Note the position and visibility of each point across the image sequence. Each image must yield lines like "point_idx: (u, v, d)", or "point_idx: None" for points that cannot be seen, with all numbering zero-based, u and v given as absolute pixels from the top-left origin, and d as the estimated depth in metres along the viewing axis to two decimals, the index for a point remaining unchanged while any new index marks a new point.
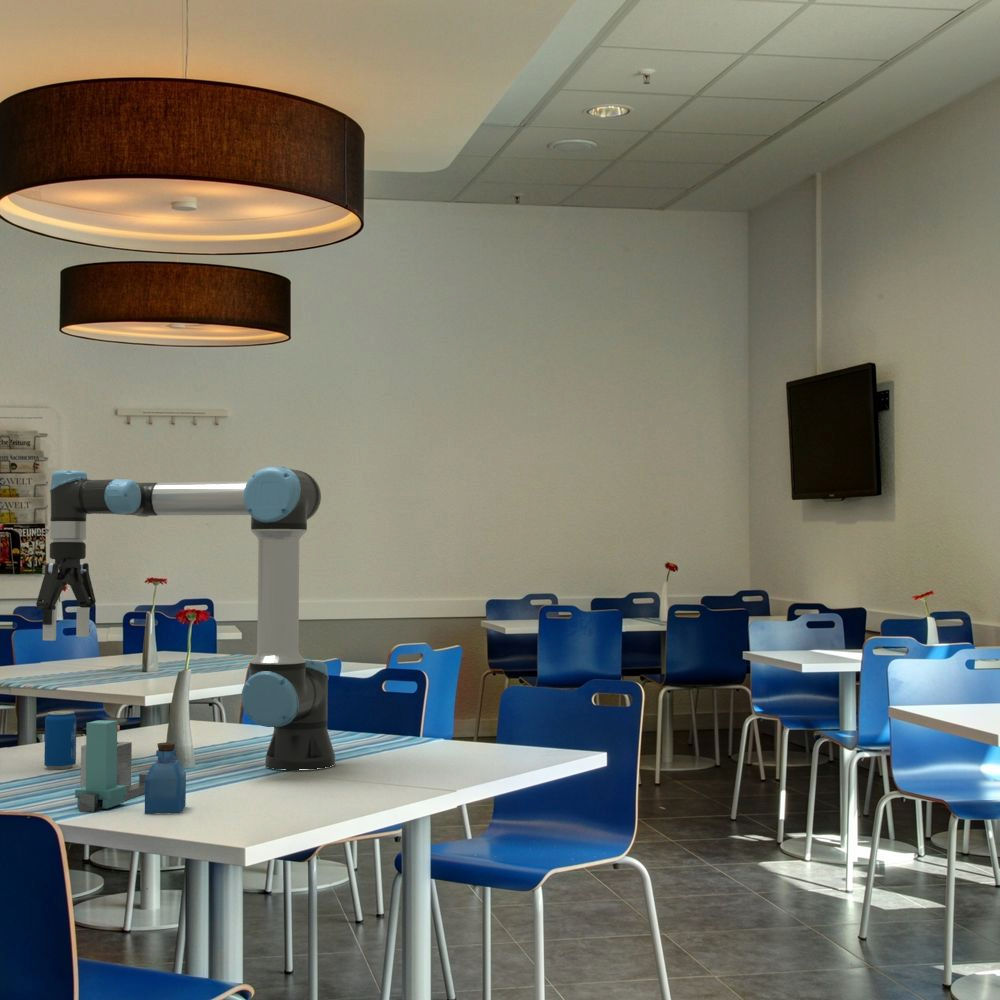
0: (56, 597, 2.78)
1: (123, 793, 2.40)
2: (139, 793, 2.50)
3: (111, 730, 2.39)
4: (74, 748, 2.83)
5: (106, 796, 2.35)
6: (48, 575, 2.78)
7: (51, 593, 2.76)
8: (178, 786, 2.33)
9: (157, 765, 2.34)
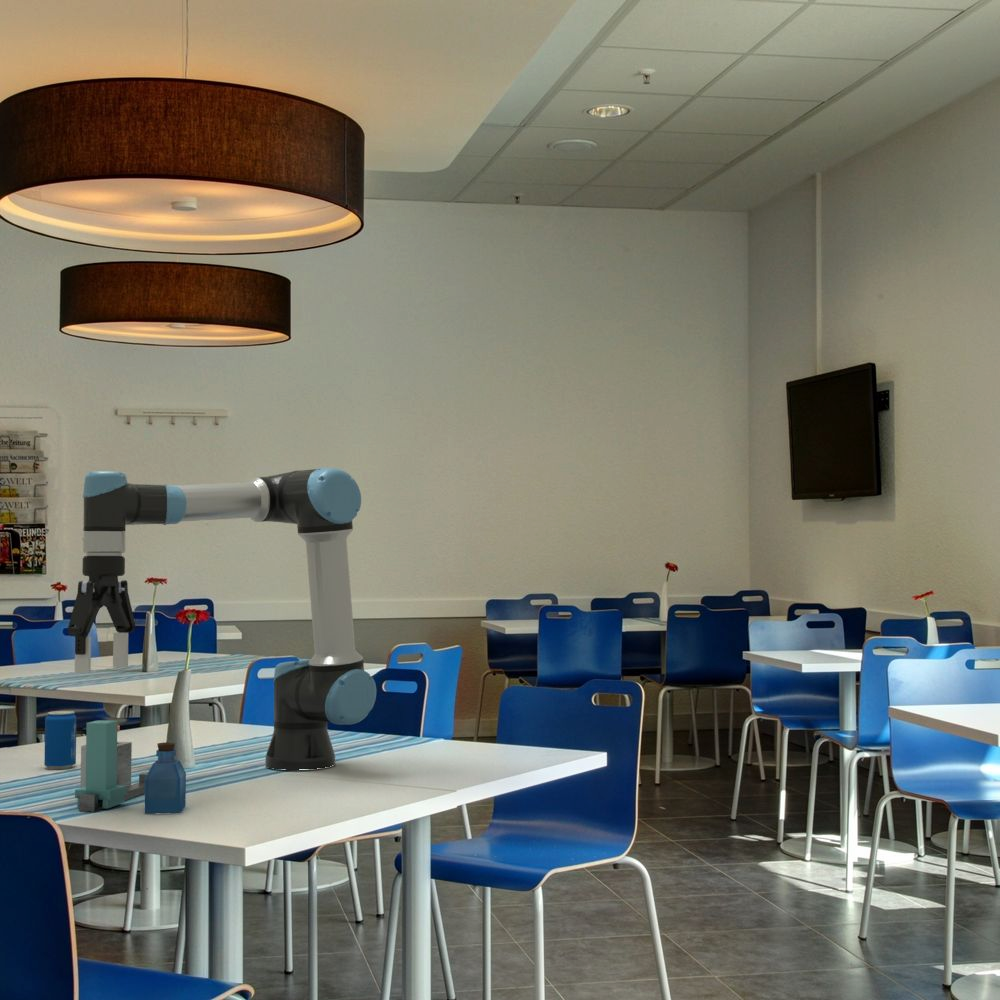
0: (91, 621, 2.34)
1: (123, 793, 2.40)
2: (139, 793, 2.50)
3: (111, 730, 2.39)
4: (74, 748, 2.83)
5: (106, 796, 2.35)
6: (82, 595, 2.34)
7: (85, 617, 2.32)
8: (178, 786, 2.33)
9: (157, 765, 2.34)
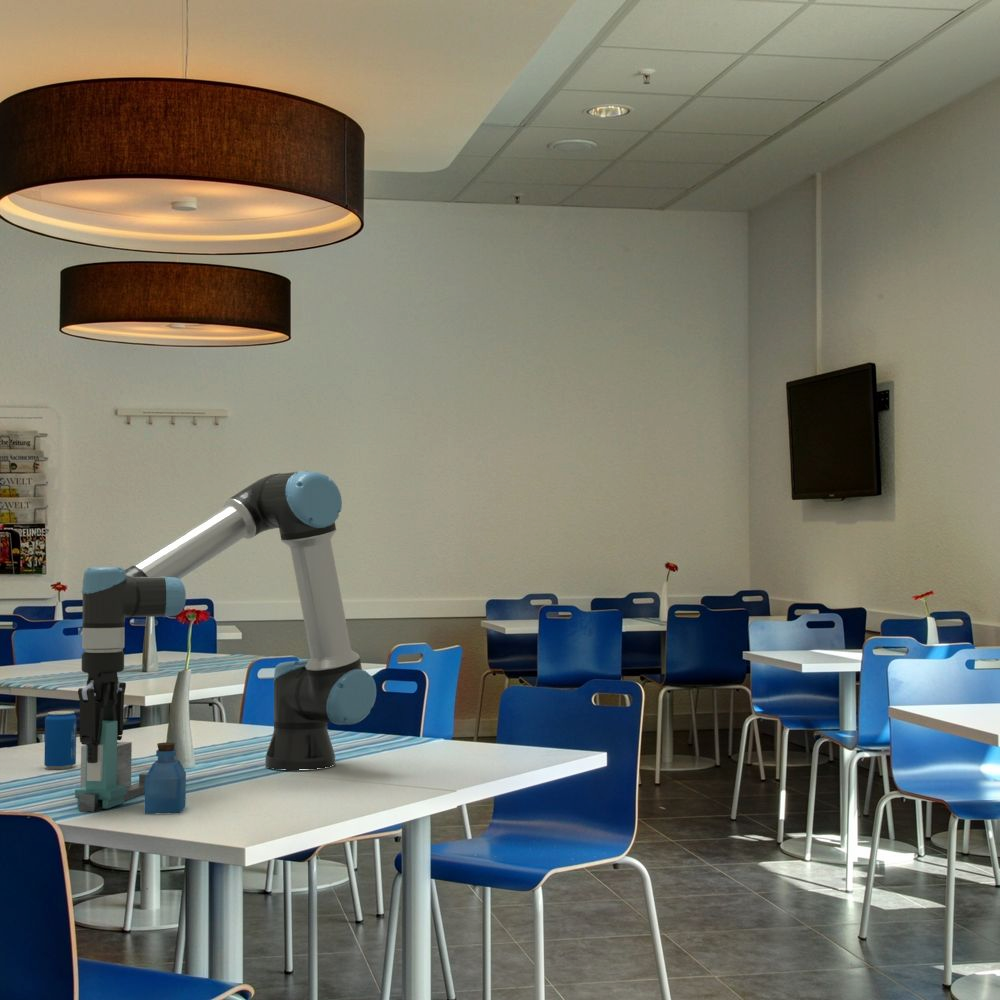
0: (99, 728, 2.36)
1: (123, 793, 2.40)
2: (139, 793, 2.50)
3: (111, 730, 2.39)
4: (74, 748, 2.83)
5: (106, 796, 2.35)
6: (85, 703, 2.34)
7: (94, 725, 2.34)
8: (178, 786, 2.33)
9: (157, 765, 2.34)
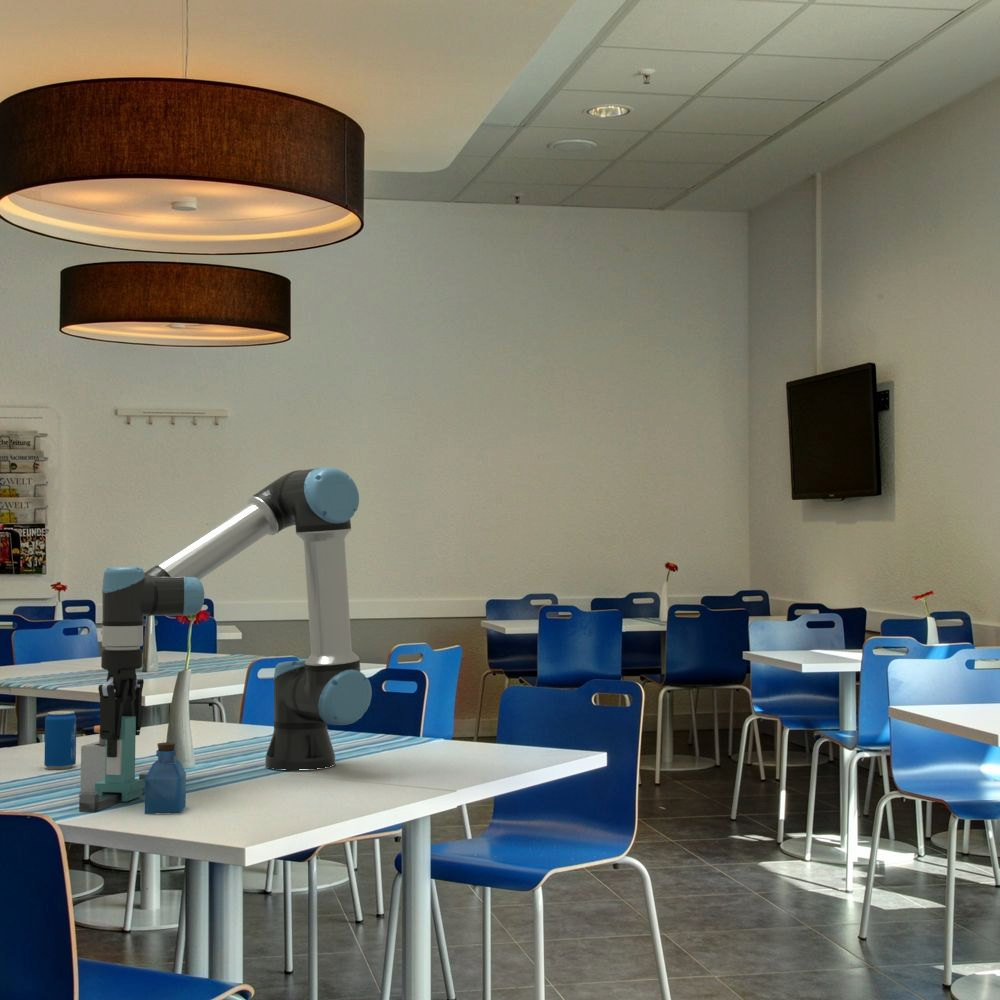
0: (119, 723, 2.43)
1: (141, 787, 2.47)
2: None
3: (130, 726, 2.46)
4: (74, 748, 2.83)
5: (125, 789, 2.42)
6: (105, 699, 2.41)
7: (113, 720, 2.41)
8: (178, 786, 2.33)
9: (157, 765, 2.34)
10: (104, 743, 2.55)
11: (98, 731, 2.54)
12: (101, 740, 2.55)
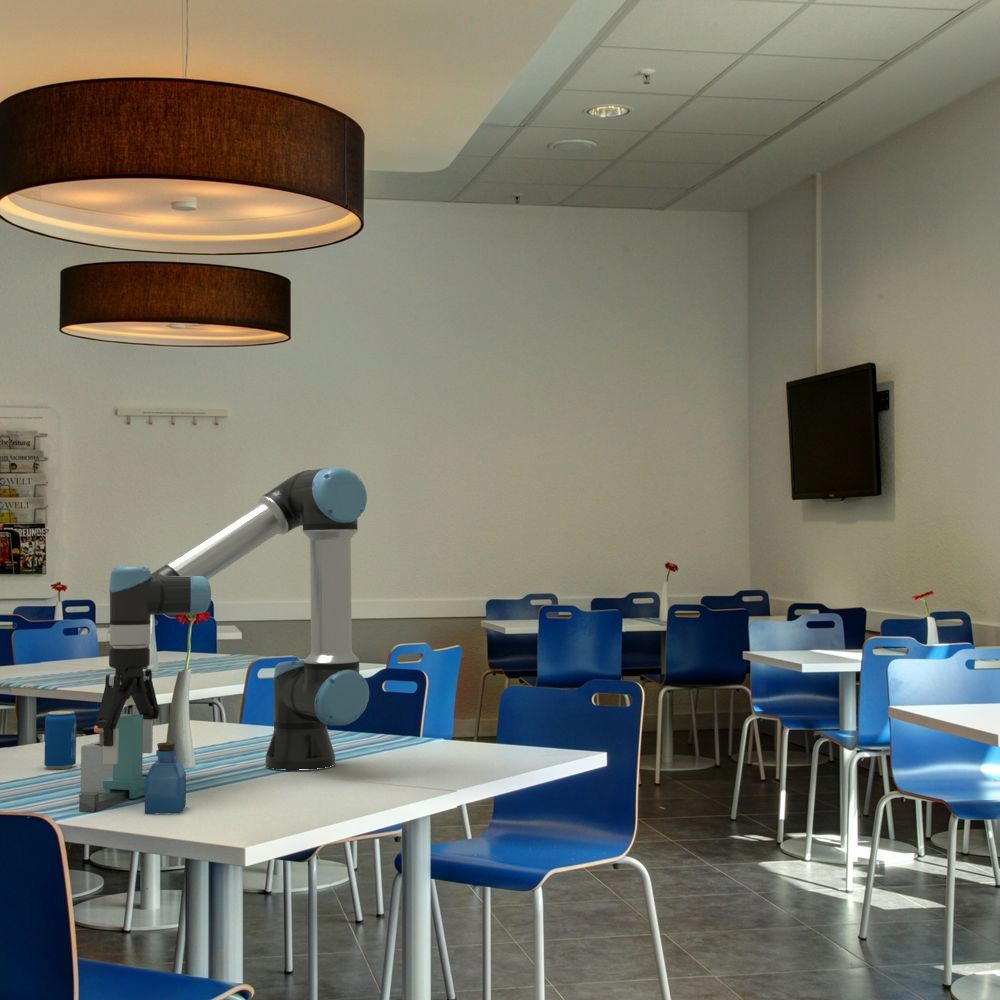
0: (118, 714, 2.43)
1: None
2: None
3: (137, 724, 2.49)
4: (74, 748, 2.83)
5: (133, 787, 2.45)
6: (109, 688, 2.43)
7: (113, 710, 2.41)
8: (178, 786, 2.33)
9: (157, 765, 2.34)
10: None
11: (98, 731, 2.54)
12: (101, 740, 2.55)
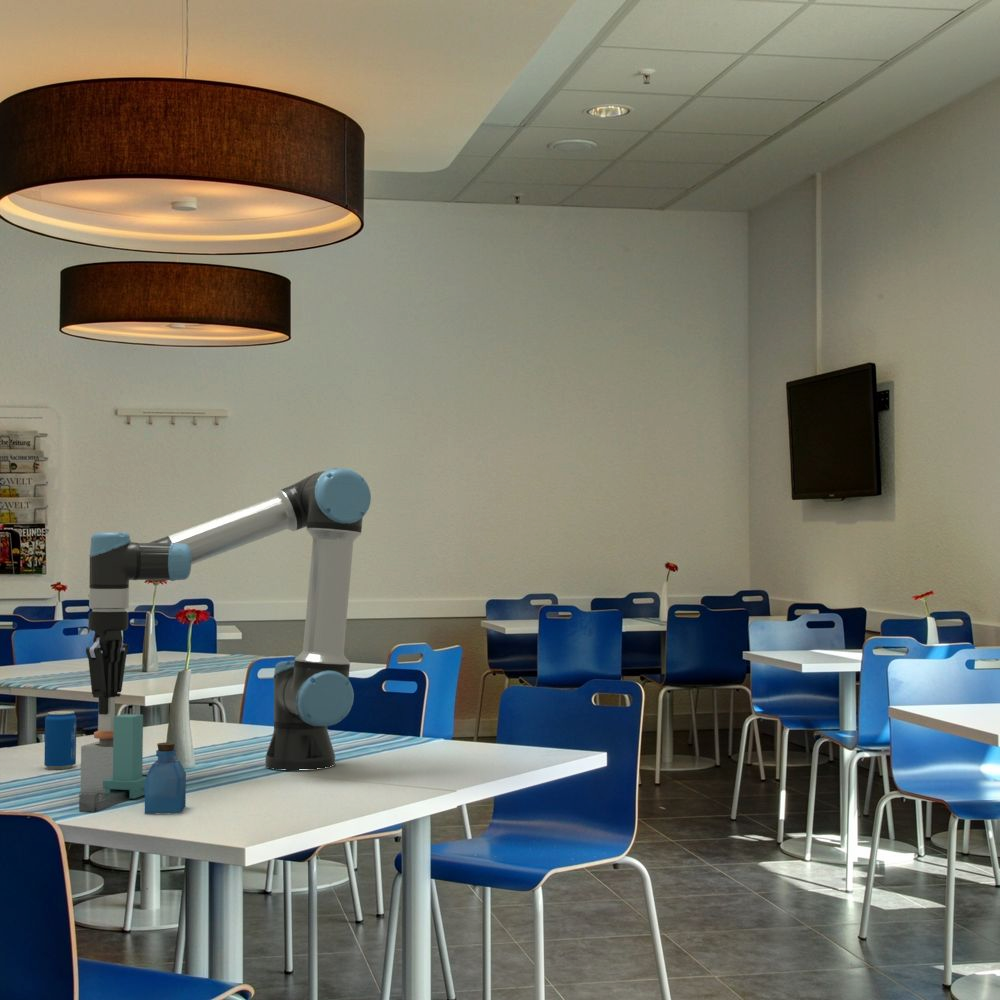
0: (109, 682, 2.55)
1: None
2: None
3: (137, 724, 2.49)
4: (74, 748, 2.83)
5: (133, 787, 2.45)
6: (93, 661, 2.52)
7: (103, 679, 2.53)
8: (178, 786, 2.33)
9: (157, 765, 2.34)
10: None
11: (98, 737, 2.54)
12: None
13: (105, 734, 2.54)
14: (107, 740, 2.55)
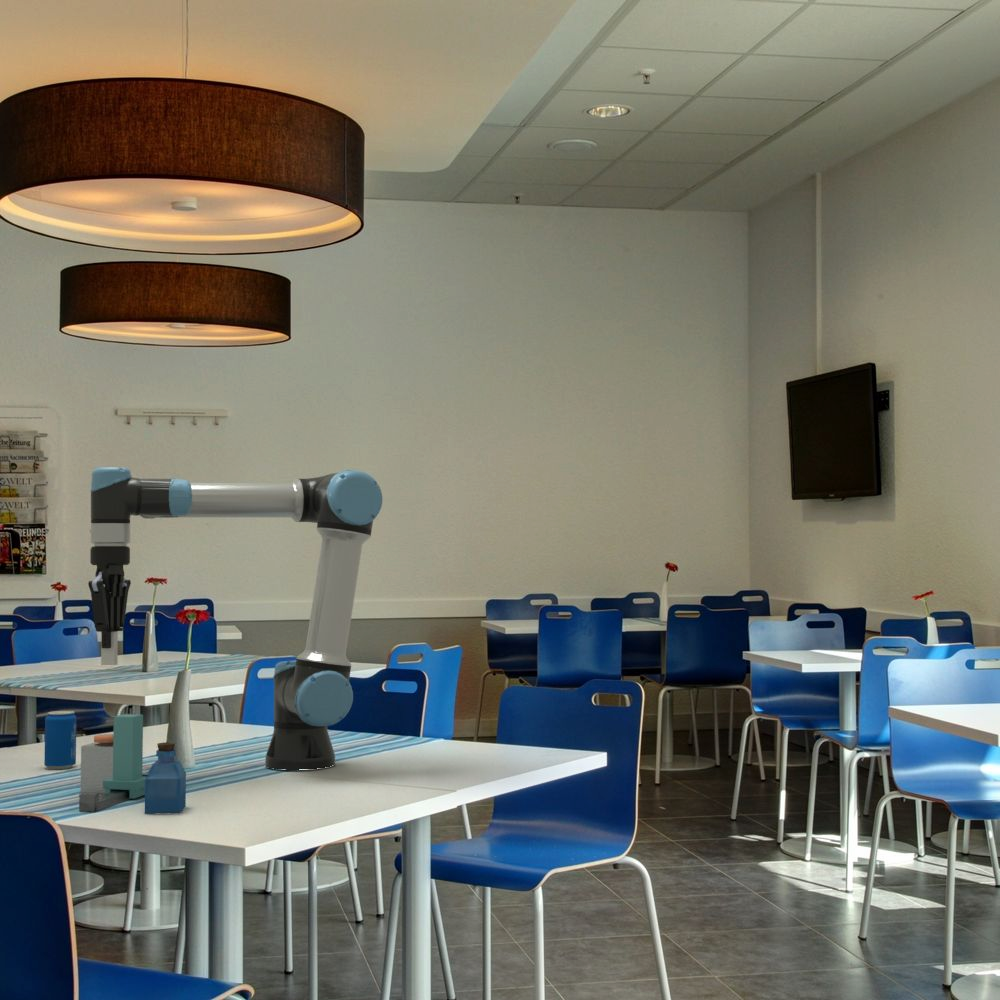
0: (111, 616, 2.56)
1: None
2: None
3: (137, 724, 2.49)
4: (74, 748, 2.83)
5: (133, 787, 2.45)
6: (96, 594, 2.53)
7: (106, 613, 2.54)
8: (178, 786, 2.33)
9: (157, 765, 2.34)
10: None
11: (98, 741, 2.54)
12: None
13: (105, 738, 2.54)
14: (107, 744, 2.55)
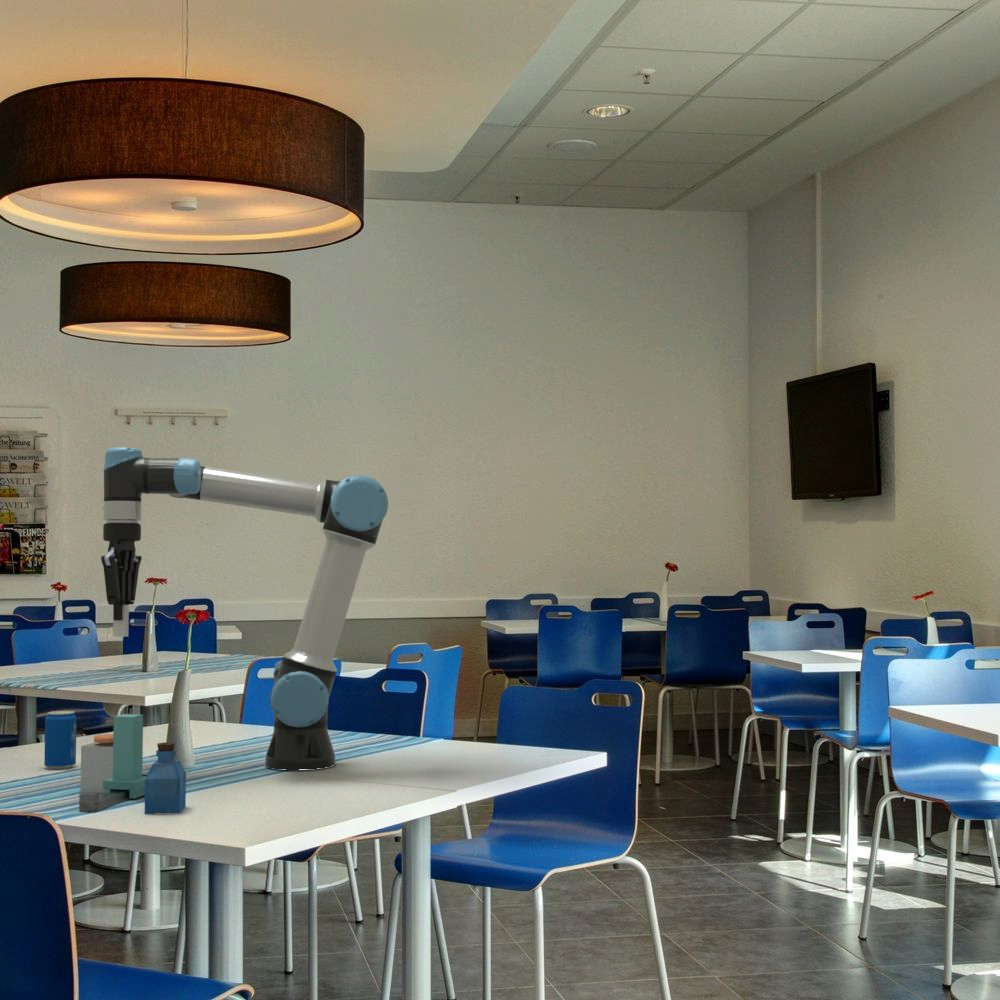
0: (123, 590, 2.68)
1: None
2: None
3: (137, 724, 2.49)
4: (74, 748, 2.83)
5: (133, 787, 2.45)
6: (108, 569, 2.64)
7: (118, 586, 2.66)
8: (178, 786, 2.33)
9: (157, 765, 2.34)
10: None
11: (98, 741, 2.54)
12: None
13: (105, 738, 2.54)
14: (107, 744, 2.55)
